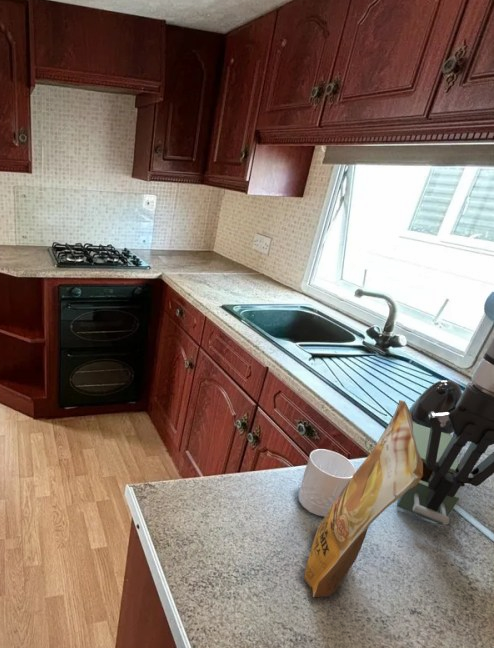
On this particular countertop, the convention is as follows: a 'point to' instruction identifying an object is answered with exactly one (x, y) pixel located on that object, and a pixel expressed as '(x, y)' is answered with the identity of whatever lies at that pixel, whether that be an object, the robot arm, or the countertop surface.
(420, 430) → the cabinet
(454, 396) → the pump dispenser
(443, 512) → the drawer
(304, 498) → the white cup
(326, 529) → the pancake mix bag
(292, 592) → the countertop surface
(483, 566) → the countertop surface
